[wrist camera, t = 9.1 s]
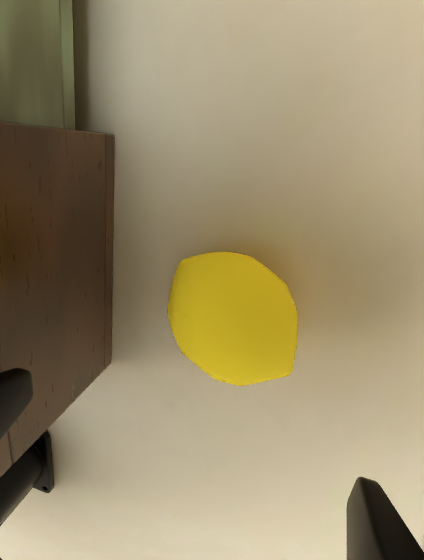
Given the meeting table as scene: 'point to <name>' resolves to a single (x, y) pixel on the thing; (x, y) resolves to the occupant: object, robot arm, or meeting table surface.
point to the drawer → (37, 63)
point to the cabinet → (54, 268)
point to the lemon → (233, 318)
